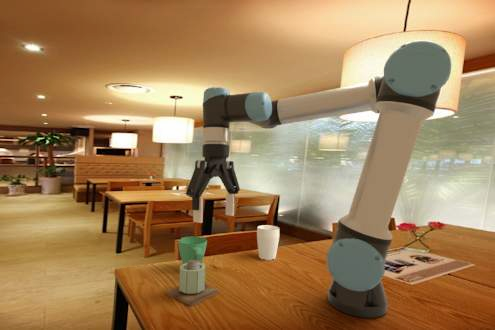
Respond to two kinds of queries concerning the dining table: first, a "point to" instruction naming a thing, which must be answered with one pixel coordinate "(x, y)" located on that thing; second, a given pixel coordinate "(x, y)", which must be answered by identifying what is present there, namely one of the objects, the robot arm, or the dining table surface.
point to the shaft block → (193, 297)
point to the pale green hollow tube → (191, 279)
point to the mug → (192, 248)
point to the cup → (267, 241)
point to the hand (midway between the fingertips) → (214, 218)
